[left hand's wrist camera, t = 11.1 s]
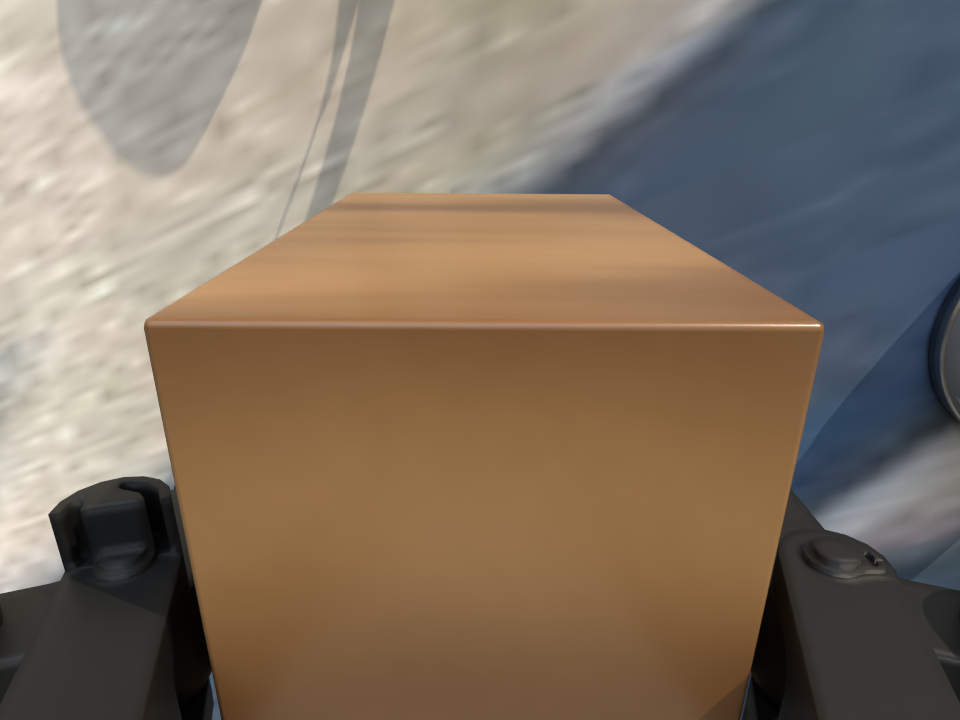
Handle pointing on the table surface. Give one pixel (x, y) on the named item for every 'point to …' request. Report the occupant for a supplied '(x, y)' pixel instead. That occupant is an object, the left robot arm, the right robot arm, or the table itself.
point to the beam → (482, 462)
